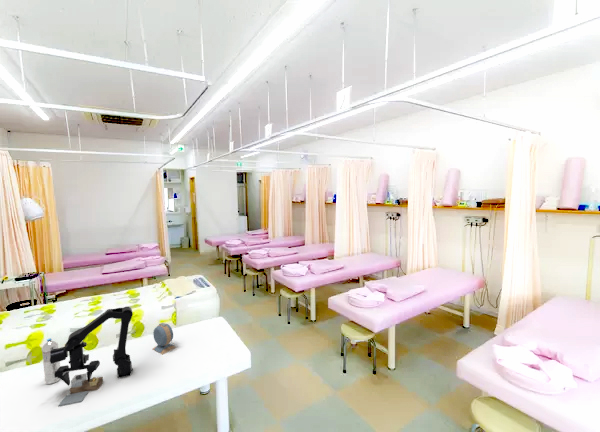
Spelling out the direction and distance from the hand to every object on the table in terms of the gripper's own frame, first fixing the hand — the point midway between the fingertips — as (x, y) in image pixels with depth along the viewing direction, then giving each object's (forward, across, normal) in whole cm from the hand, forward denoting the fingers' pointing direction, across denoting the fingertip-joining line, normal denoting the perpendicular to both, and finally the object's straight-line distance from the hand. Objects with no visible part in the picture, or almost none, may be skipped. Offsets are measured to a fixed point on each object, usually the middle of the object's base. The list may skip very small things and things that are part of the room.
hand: (79, 383), depth 149 cm
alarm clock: (+4, -37, -29) cm, 47 cm away
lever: (0, -8, +3) cm, 8 cm away
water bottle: (+4, +18, -13) cm, 23 cm away
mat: (+4, 0, +8) cm, 8 cm away
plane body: (+4, -4, 0) cm, 5 cm away
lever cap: (0, 0, 0) cm, 0 cm away
